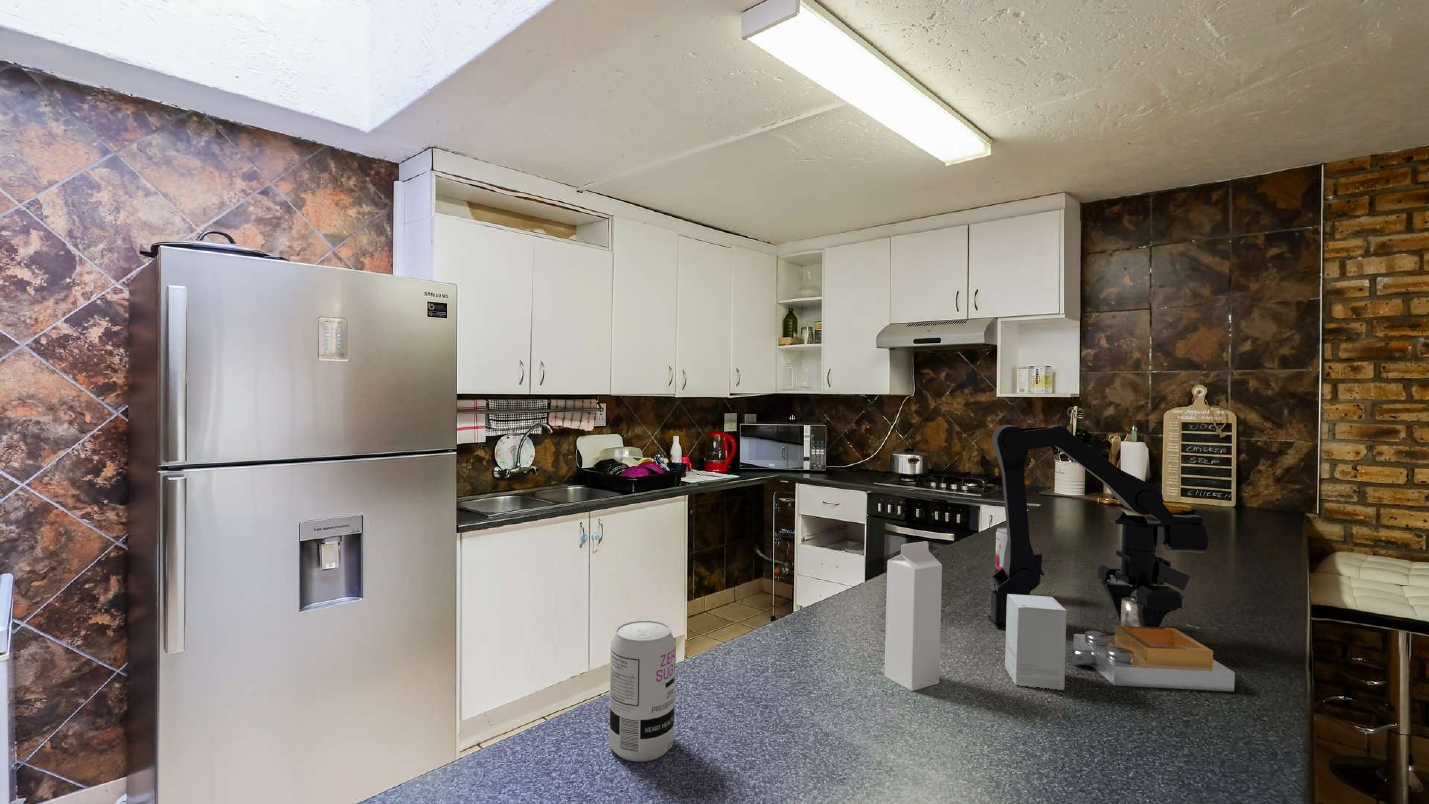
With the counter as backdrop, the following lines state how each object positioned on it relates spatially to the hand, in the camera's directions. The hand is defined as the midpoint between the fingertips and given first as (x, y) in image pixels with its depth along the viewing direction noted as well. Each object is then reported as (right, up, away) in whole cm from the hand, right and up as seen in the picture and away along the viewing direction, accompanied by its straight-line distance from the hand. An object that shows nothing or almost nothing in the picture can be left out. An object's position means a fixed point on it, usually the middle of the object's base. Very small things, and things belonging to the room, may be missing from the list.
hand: (1136, 629), depth 126 cm
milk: (-49, -1, -20) cm, 53 cm away
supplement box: (-29, -2, -19) cm, 34 cm away
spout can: (+1, -2, 0) cm, 2 cm away
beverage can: (-13, -1, +24) cm, 28 cm away
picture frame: (-9, -2, -14) cm, 17 cm away
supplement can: (-89, -1, -41) cm, 98 cm away
